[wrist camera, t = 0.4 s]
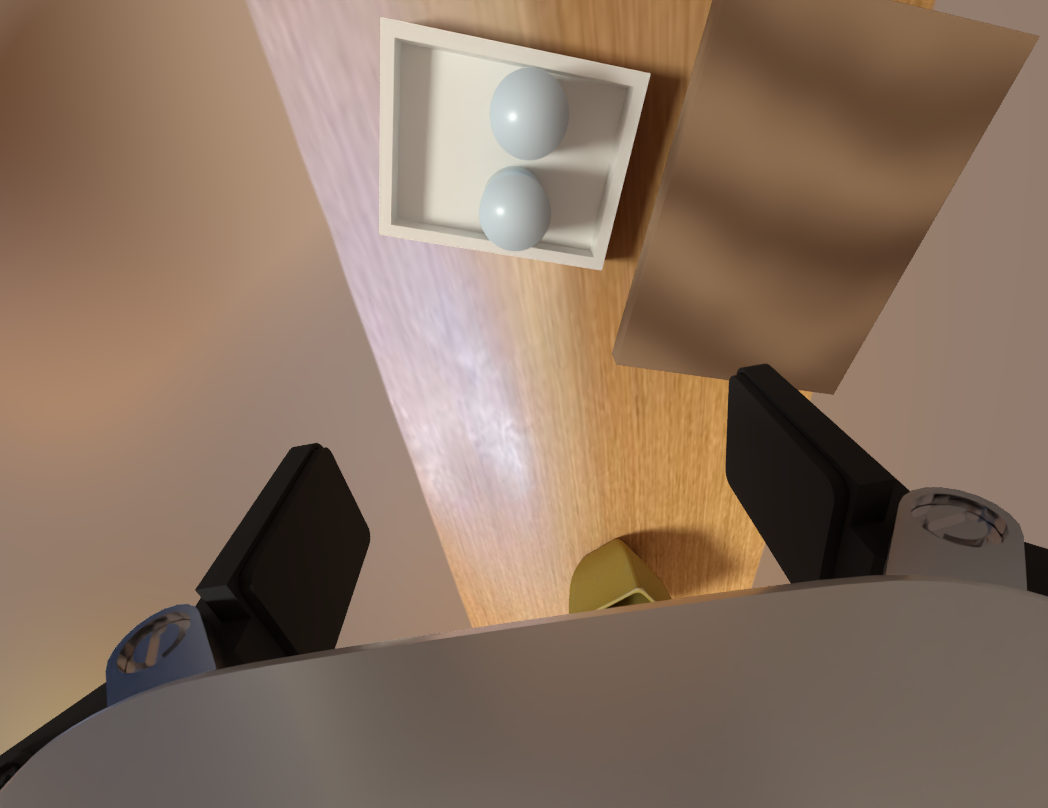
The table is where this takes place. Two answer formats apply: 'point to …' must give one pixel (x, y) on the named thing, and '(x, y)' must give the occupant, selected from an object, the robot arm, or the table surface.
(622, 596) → the flower pot
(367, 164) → the table surface
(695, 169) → the counter
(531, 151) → the grey rounded cylinder
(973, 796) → the robot arm
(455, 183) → the tray
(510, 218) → the blue-grey rounded cylinder
